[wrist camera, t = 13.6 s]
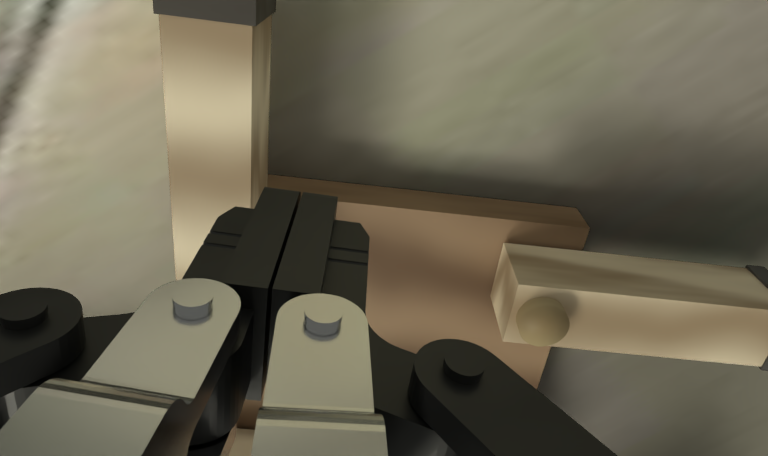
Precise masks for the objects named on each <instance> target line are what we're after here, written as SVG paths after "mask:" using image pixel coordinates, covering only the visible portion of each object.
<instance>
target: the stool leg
mask: <svg viewBox="0 0 768 456" xmlns="http://www.w3.org/2000/svg"><path fill="white" fill-rule="evenodd" d="M153 10H154V13H155V14H159V25H160V40H161V55H162V71H163V86H164V102H165V117H166V133H167V148H168V164H169V179H170V195H171V210H172V226H173V241H174V257H175V272H176V280H181V279H182V278H183V276H184V274H185V273H186V271H187V269H188V268H189V266H190V264H191V262H192V261H193V259H194V257H195V256H196V254H197V252H198V250H199V249H200V247H201V245H203V242H204V240H205V238H206V237H207V235H208V233H210V230H211V228H212V226H213V225H214V223H215V221H216V219H217V218H218V216H220V215H222V214H223V213H225V212H227V211H228V210H230V209H232V208H233V207H235V206H237V207H244V208H252V209H254V208H255V206H256V204H257V202H258V200H259V197H260V195H261V193H262V191H263V189H264V187H267V179H268V140H269V101H270V62H271V22H272V14H273V13H274V12H275V11H276V0H153Z"/></svg>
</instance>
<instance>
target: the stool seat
mask: <svg viewBox="0 0 768 456" xmlns="http://www.w3.org/2000/svg"><path fill="white" fill-rule="evenodd" d="M267 187H271V188H278V189H285V190H293V191H300V192H301V197H302V194H303V192H308V193H315V194H323V195H330V196H337V197H338V203H337V212H336V220H342V221H349V222H357V223H361V225H362V226H363V228H364V229H365V231H366V232H367V234H368V235H369V237H370V240H369V258H368V276H367V294H366V318H367V321H368V323H369V325H370V327H371V328H372V329H373V331H374V332H375V333H376V334H377V335H378V336H379V337H381V338H382V339H384V340H385V341H387V342H388V343H390V344H392V345H394V346H397V347H399V348H401V349H404V350H407V351H410V352H412V353H415V354H417V352H418V351H419V350H420V348H422V347H423V346H424V345H426V344H427V343H429V342H432V341H435V340H440V339H459V340H464V341H468V342H471V343H474V344H477V345H479V346H481V347H483V348H485V349H487V350H488V351H490V352H491V353H492V354H494V355H495V356H496V357H498V358H499V359H500V360H501V361H502V362H504V363H505V364H506V365H507V366H509V367H510V368H511V369H512V370H513V371H515V372H516V373H517V374H518V375H520V376H521V377H522V378H523V379H524V380H526V381H527V382H528V383H529V384H531V385H532V386H533V387H534V388H535V389H537V388H538V384H539V381H540V378H541V375H542V372H543V369H544V366H545V363H546V360H547V357H548V354H549V351H550V348H551V346H553V347H564V348H574V349H584V350H595V351H605V352H615V353H626V354H636V355H646V356H657V357H667V358H677V359H688V360H698V361H708V362H719V363H729V364H739V365H750V366H758V367H759V368H760V369H761V370H765V371H768V270H767V269H766V268H765V267H761V266H752V265H746V267H745V268H740V267H730V266H721V265H711V264H702V263H692V262H683V261H673V260H664V259H654V258H645V257H635V256H626V255H616V254H607V253H597V252H588V251H583V248H584V245H585V242H586V239H587V236H588V233H589V230H590V228H589V226H588V225H587V223H586V222H585V220H584V219H583V217H582V216H581V214H580V213H579V211H578V210H577V208H573V207H564V206H555V205H546V204H537V203H527V202H518V201H509V200H500V199H491V198H481V197H472V196H463V195H454V194H445V193H436V192H426V191H417V190H408V189H399V188H390V187H381V186H371V185H362V184H353V183H344V182H335V181H325V180H316V179H307V178H298V177H289V176H280V175H270V174H268V179H267ZM265 387H266V383H265ZM265 387H264V391H263V395H262V398H261V401H257V400H248V399H245V401H244V404H243V408H242V411H241V414H240V417H239V419H238V421H237V425H236V437H235V441H234V443H233V446H232V448H231V451H230V453H229V456H251V451H252V445H253V439H254V432H255V426H256V421H257V415H258V411H259V408H260V407H262V405H263V399H264V393H265Z"/></svg>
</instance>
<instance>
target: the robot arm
mask: <svg viewBox="0 0 768 456" xmlns="http://www.w3.org/2000/svg"><path fill="white" fill-rule="evenodd" d="M337 203H338V197H337V196H330V195H323V194H315V193H308V192H303V194H302V197H301V192H300V191H293V190H285V189H278V188H271V187H264V189H263V191H262V193H261V195H260V197H259V200H258V202H257V204H256V206H255V208H254V209H252V208H244V207H237V206H235V207H233V208H232V209H230V210H228V211H227V212H225V213H223V214H222V215H220V216H218V218H217V219H216V221H215V223H214V225H213V226H212V228H211V230H210V233H208V235H207V237H206V238H205V240H204V242H203V245H201V247H200V249H199V250H198V252H197V254H196V256H195V257H194V259H193V261H192V262H191V264H190V266H189V268H188V269H187V271H186V273H185V274H184V276H183V278H182V279H181V280H176V281H173V282H169V283H167V284H164V285H162V286H160V287H158V288H157V289H155V290H154V291H153V292H151V293H150V294H149V295H148V296H147V298H146V299H145V300H144V301H143V303H142V304H141V305H140V306H139V308H138V309H137V310H136V312H133V313H128V314H120V315H109V316H97V317H85V318H83V312H82V306H81V304H80V302H79V300H78V299H77V298H76V297H74V296H73V295H72V294H70V293H67V292H65V291H62V290H58V289H52V288H28V289H20V290H16V291H11V292H8V293H4V294H1V295H0V456H229V453H230V451H231V448H232V446H233V443H234V441H235V437H236V425H237V421H238V419H239V417H240V414H241V411H242V408H243V404H244V401H245V399H248V400H257V401H261V398H262V395H263V391H264V387H265V383H266V387H265V393H264V399H263V405H262V407H260V408H259V411H258V415H257V421H256V426H255V432H254V439H253V445H252V451H251V456H617V455H616V454H615V453H613V452H612V451H611V450H610V449H609V448H607V447H606V446H605V445H604V444H602V443H601V442H600V441H599V440H598V439H596V438H595V437H594V436H593V435H592V434H590V433H589V432H588V431H587V430H585V429H584V428H583V427H582V426H581V425H579V424H578V423H577V422H576V421H574V420H573V419H572V418H571V417H570V416H568V415H567V414H566V413H565V412H563V411H562V410H561V409H560V408H559V407H557V406H556V405H555V404H554V403H552V402H551V401H550V400H549V399H548V398H546V397H545V396H544V395H543V394H542V393H540V392H539V391H538V390H537V389H535V388H534V387H533V386H532V385H531V384H529V383H528V382H527V381H526V380H524V379H523V378H522V377H521V376H520V375H518V374H517V373H516V372H515V371H513V370H512V369H511V368H510V367H509V366H507V365H506V364H505V363H504V362H502V361H501V360H500V359H499V358H498V357H496V356H495V355H494V354H492V353H491V352H490V351H488V350H487V349H485V348H483V347H481V346H479V345H477V344H474V343H471V342H468V341H464V340H459V339H440V340H435V341H432V342H429V343H427V344H426V345H424V346H423V347H422V348H420V350H419V351H418V352H417V354H415V353H412V352H410V351H407V350H404V349H401V348H399V347H397V346H394V345H392V344H390V343H388V342H387V341H385V340H384V339H382V338H381V337H379V336H378V335H377V334H376V333H375V332H374V331H373V329H372V328H371V327H370V325H369V323H368V321H367V318H366V294H367V276H368V258H369V240H370V237H369V235H368V234H367V232H366V231H365V229H364V228H363V226H362V225H361V223H357V222H349V221H342V220H336V212H337Z"/></svg>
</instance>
